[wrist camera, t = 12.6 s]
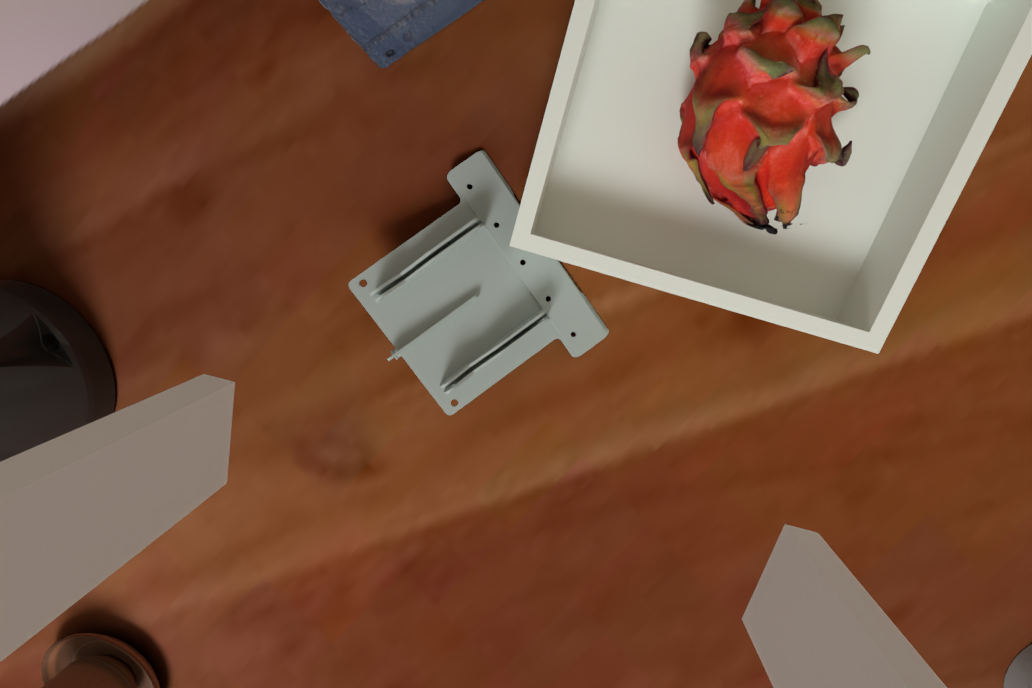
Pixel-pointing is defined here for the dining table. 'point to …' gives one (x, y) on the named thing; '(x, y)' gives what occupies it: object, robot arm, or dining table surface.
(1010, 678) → the coffee mug
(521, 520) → the dining table surface
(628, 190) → the tray
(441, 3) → the vhs cassette tape
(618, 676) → the dining table surface
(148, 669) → the cup and saucer
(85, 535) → the robot arm
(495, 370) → the metal bracket
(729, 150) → the dragon fruit
